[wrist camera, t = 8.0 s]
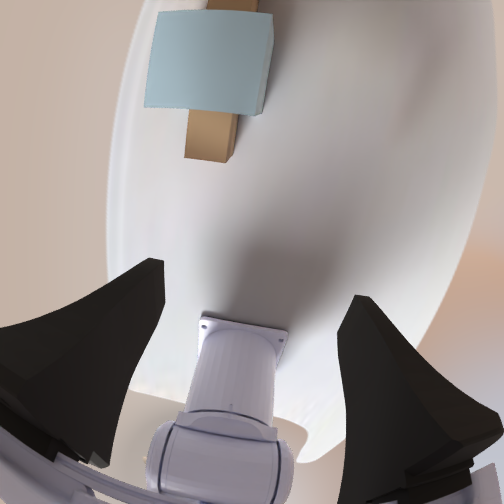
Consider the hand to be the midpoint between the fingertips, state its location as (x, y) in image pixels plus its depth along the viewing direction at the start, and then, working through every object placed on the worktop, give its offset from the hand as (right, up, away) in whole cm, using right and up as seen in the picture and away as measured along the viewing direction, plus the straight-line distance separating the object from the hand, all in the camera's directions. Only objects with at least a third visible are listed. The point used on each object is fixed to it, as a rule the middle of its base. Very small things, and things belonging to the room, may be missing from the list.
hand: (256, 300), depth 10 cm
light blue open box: (-2, +13, +4) cm, 14 cm away
